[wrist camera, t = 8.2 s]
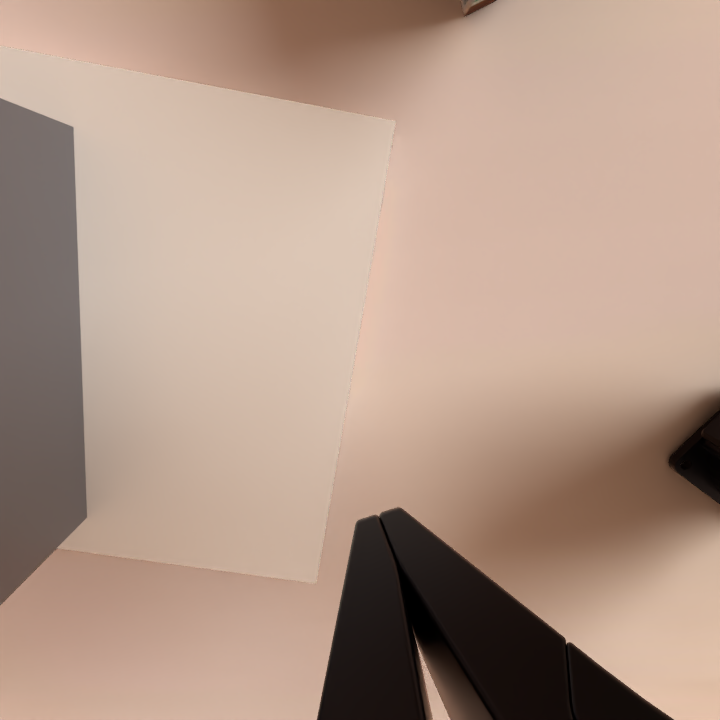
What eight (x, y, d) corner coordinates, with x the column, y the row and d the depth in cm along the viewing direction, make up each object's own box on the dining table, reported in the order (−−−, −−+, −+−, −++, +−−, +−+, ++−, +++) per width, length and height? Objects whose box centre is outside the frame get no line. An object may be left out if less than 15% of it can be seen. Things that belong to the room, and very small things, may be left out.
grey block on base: (392, 132, 15) (418, 43, 8) (319, 560, 21) (299, 714, 14) (-121, 35, 14) (-562, -153, 7) (-50, 508, 20) (-261, 646, 13)
